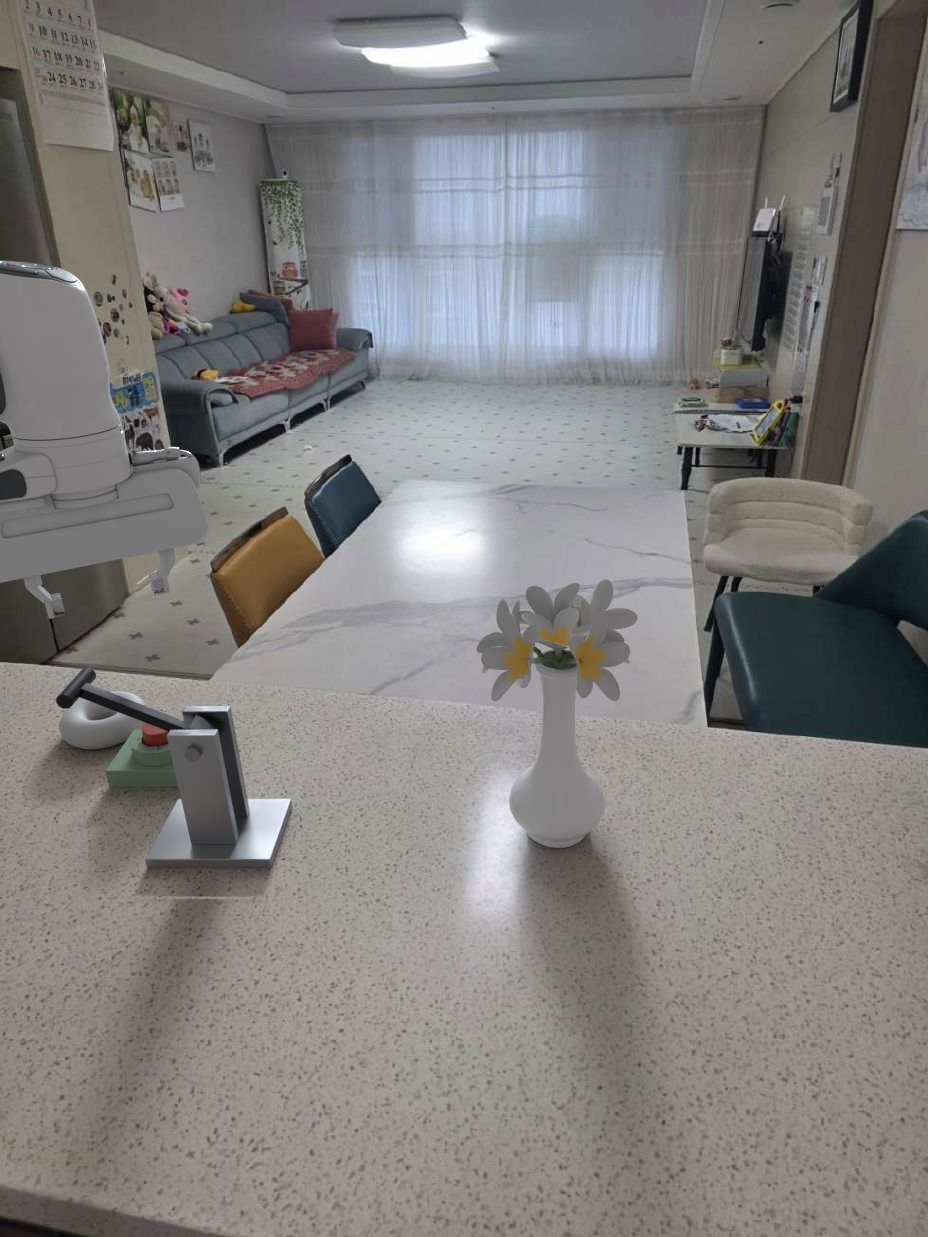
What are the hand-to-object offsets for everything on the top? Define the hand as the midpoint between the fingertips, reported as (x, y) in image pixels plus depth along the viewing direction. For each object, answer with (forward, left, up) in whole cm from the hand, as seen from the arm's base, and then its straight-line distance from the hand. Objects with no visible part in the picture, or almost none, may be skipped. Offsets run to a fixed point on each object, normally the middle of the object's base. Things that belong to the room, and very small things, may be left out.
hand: (110, 603), depth 79 cm
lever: (+4, -7, -9) cm, 12 cm away
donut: (-11, +12, -23) cm, 28 cm away
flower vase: (+42, -5, -23) cm, 48 cm away
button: (-1, +5, -19) cm, 20 cm away
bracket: (+9, -7, -23) cm, 25 cm away
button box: (-1, +5, -23) cm, 23 cm away
